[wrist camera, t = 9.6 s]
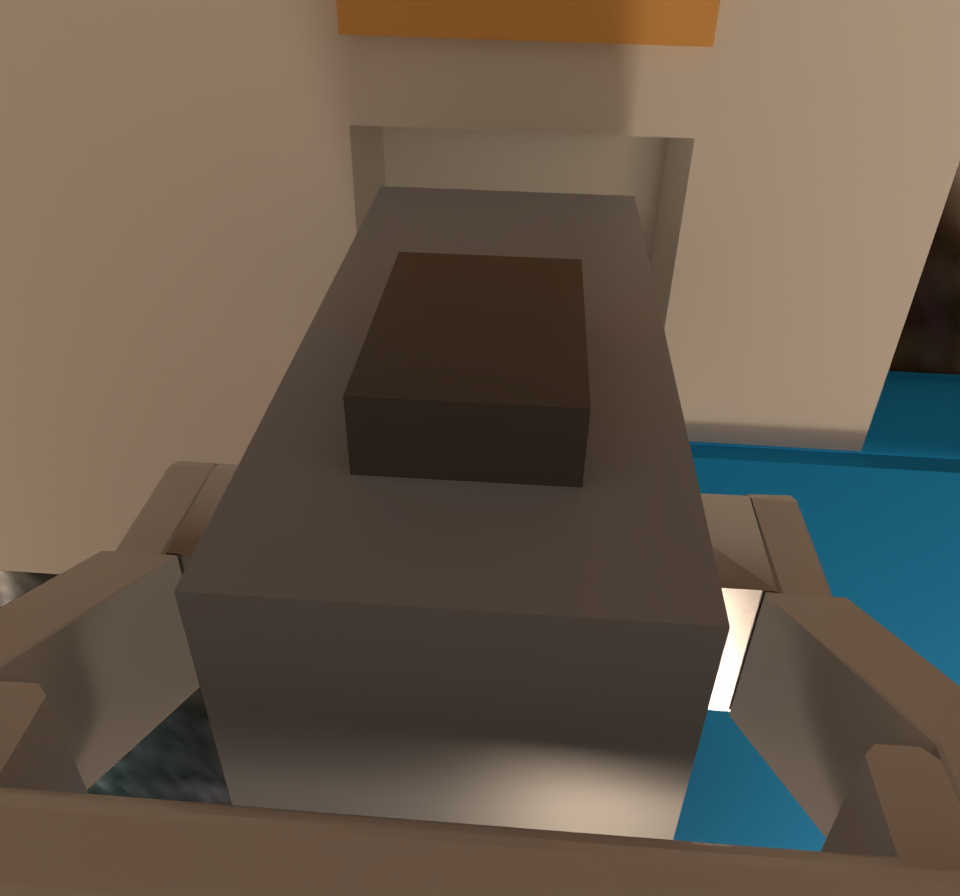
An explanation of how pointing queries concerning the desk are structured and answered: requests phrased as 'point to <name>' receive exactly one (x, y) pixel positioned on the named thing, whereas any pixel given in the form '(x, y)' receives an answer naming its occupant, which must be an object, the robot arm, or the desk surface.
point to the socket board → (447, 165)
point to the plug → (468, 536)
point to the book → (844, 576)
